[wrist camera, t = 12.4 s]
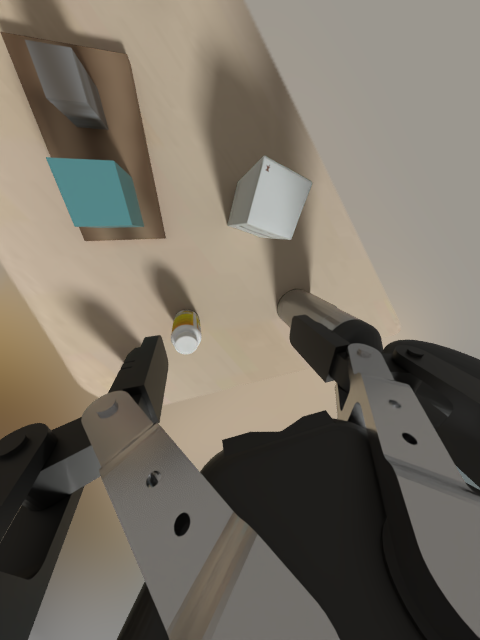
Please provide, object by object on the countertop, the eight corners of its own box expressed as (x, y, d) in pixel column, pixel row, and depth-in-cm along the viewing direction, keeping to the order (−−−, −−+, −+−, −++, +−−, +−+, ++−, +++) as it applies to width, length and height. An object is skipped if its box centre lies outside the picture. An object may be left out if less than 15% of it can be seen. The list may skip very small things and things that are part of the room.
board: (130, 64, 22) (108, 0, 16) (165, 238, 31) (160, 239, 25) (13, 45, 19) (-68, -41, 13) (89, 240, 28) (62, 242, 22)
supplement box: (226, 226, 33) (244, 223, 22) (237, 180, 30) (264, 150, 19) (260, 238, 35) (291, 241, 24) (273, 197, 33) (314, 180, 22)
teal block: (132, 177, 25) (114, 160, 19) (144, 226, 28) (132, 225, 22) (82, 176, 24) (45, 157, 18) (100, 227, 27) (74, 226, 21)
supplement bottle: (168, 321, 38) (162, 347, 29) (185, 304, 37) (184, 326, 29) (188, 334, 41) (187, 362, 32) (204, 319, 40) (208, 343, 31)
